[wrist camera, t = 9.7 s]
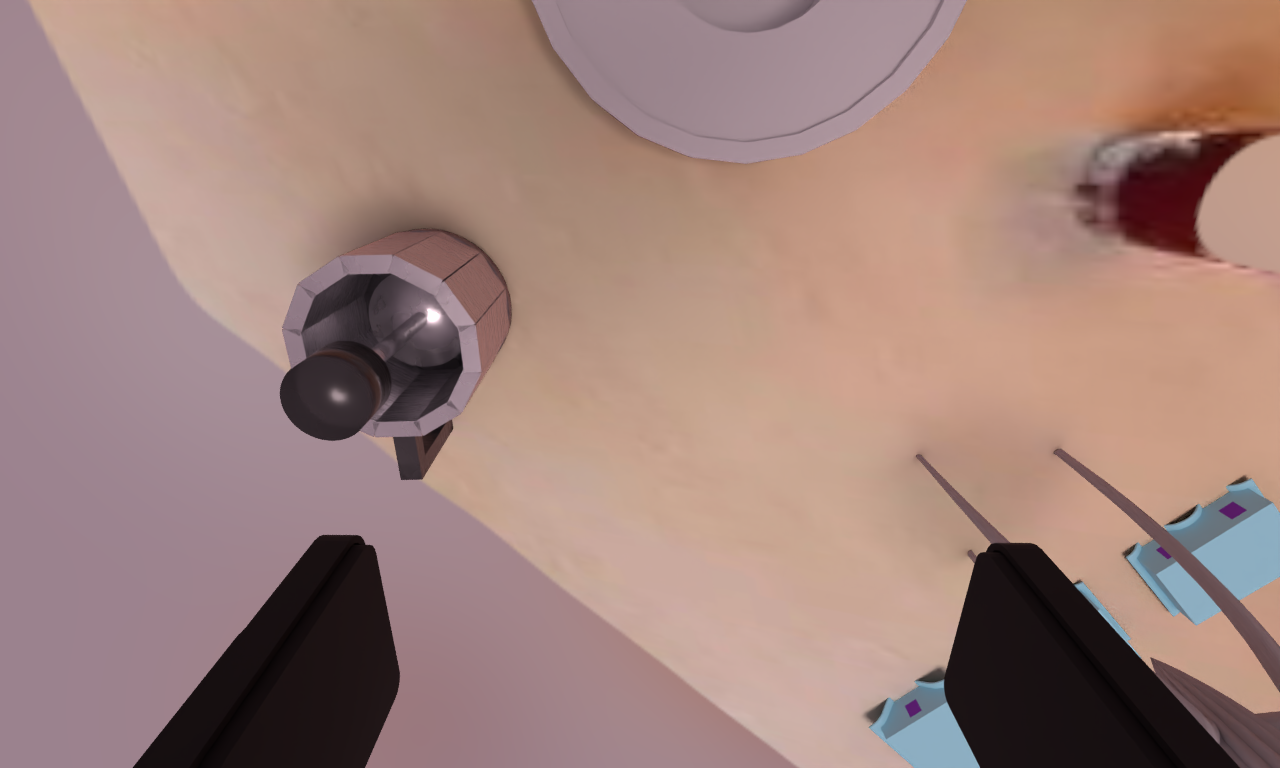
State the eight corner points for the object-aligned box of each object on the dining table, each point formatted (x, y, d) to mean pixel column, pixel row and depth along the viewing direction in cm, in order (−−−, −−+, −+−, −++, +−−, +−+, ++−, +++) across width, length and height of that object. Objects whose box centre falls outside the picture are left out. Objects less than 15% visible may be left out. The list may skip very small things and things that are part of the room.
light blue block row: (861, 708, 54) (925, 765, 57) (873, 739, 52) (940, 797, 54) (1236, 469, 46) (1290, 549, 49) (1275, 490, 43) (1330, 573, 46)
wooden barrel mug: (343, 230, 38) (263, 256, 30) (503, 226, 38) (467, 251, 30) (379, 419, 43) (319, 488, 35) (522, 416, 43) (495, 484, 35)
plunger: (365, 267, 37) (233, 333, 25) (467, 265, 37) (385, 329, 25) (383, 363, 39) (269, 467, 27) (478, 361, 39) (409, 464, 27)
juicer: (902, 559, 48) (1279, 1147, 20) (916, 454, 45) (1393, 985, 17) (1037, 553, 48) (1604, 1134, 20) (1061, 448, 45) (1784, 969, 17)
